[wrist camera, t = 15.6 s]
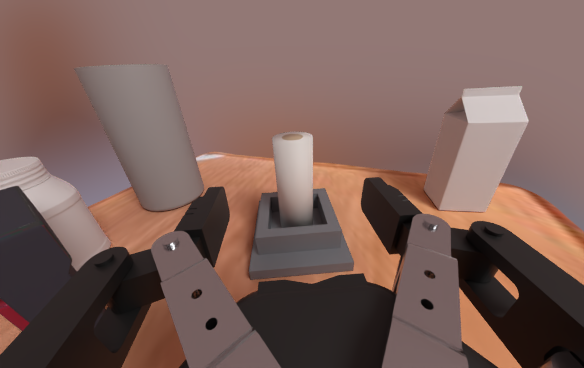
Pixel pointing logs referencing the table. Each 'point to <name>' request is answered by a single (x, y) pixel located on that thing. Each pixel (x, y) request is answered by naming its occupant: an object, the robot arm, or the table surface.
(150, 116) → the cylinder vase
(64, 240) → the jar
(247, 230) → the table surface
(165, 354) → the table surface
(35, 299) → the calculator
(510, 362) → the table surface
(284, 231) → the roll holder
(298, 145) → the paper roll
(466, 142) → the milk carton
